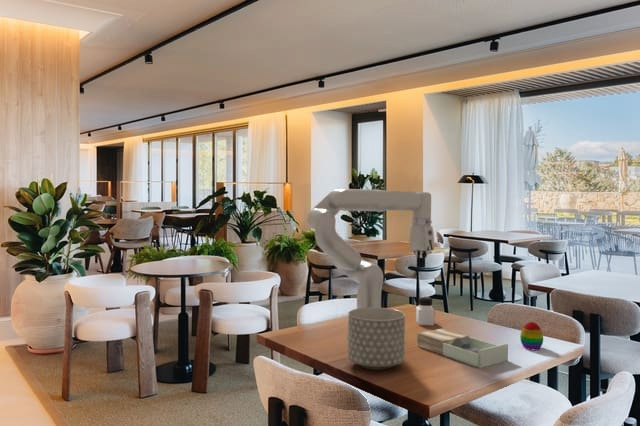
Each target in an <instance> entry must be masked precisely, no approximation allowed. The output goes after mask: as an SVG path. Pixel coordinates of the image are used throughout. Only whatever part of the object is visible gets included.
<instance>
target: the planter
mask: <svg viewBox="0 0 640 426" xmlns="http://www.w3.org/2000/svg"><path fill="white" fill-rule="evenodd" d="M347 314H348V321H347V323H348V325H347V327H348V328H347V329H348V331H347V332H348V334H347V335H348V340H347V344H348V345H347V346H348V347H347V349H348V350H347V359H348V360H349V361H350V362H353V363H355V364H357V365H359V366H360V367H362V368H364V369H367V370H370V371H384V370H388V369H391V368H392V367H394V366H397V365H398V366H399V365H400V364H402V363H403V362H404V361H405V342H406V341H405V334H406V333H405V328H406V327H405V326H406V324H405V322H406V317H405V316H406V313H404V312H403V311H401V310H398V309H393V308H387V307H381V308H359V309H357V308H355V309H351V310H350V311H348V313H347Z"/></svg>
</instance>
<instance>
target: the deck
mask: <svg viewBox="0 0 640 426" xmlns="http://www.w3.org/2000/svg"><path fill="white" fill-rule="evenodd" d="M465 337H469V335H467V334H464V333H460V332H457V331H454V330H450V329H447V328H437V329H433V330H432V329H431V330H427V331H422V332H418V333H417V347H419V348H423V349H425V350H428V351H431V352H433V353H437V354H440V355H442V356H443V343H446V344H449V345H452V346H455V344H456V343H457V342H458V340H459V339H461V338H465ZM469 338H470V337H469Z"/></svg>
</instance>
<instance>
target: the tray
mask: <svg viewBox="0 0 640 426" xmlns="http://www.w3.org/2000/svg"><path fill="white" fill-rule="evenodd" d="M469 338H470V339H471V340H472V341H473V343H472V344H471V345H470V346H472V347H475V348H478V349H480V350H478V354H477V353H474V352H471V351H468V350H465V349H462V348H459V347H455V346H452V345H449V344H446V343H443V355H442V356H443V357H446V358H449V359H453V360H454V361H458V362H460V363H463V364H466V365H469V366H472V367H475V368H479V369H483V368H486V367H489V366H492V365H496V364H497V365H498V364H500V363H505V362H507V361H508V360H509V359H508V358H509V356H508V355H509V344H508V343H502V344H499V345H498V344H496V343H492V342H489V341H486V340H482V339H479V338H474V337H471V336H470V337H469Z"/></svg>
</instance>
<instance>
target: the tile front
mask: <svg viewBox="0 0 640 426" xmlns="http://www.w3.org/2000/svg"><path fill="white" fill-rule="evenodd" d="M461 348H462V349H465V350H468V351H471V352H474V353H477V354H478V350H480V349H478V348H475V347H472V346H466V347H461Z"/></svg>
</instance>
